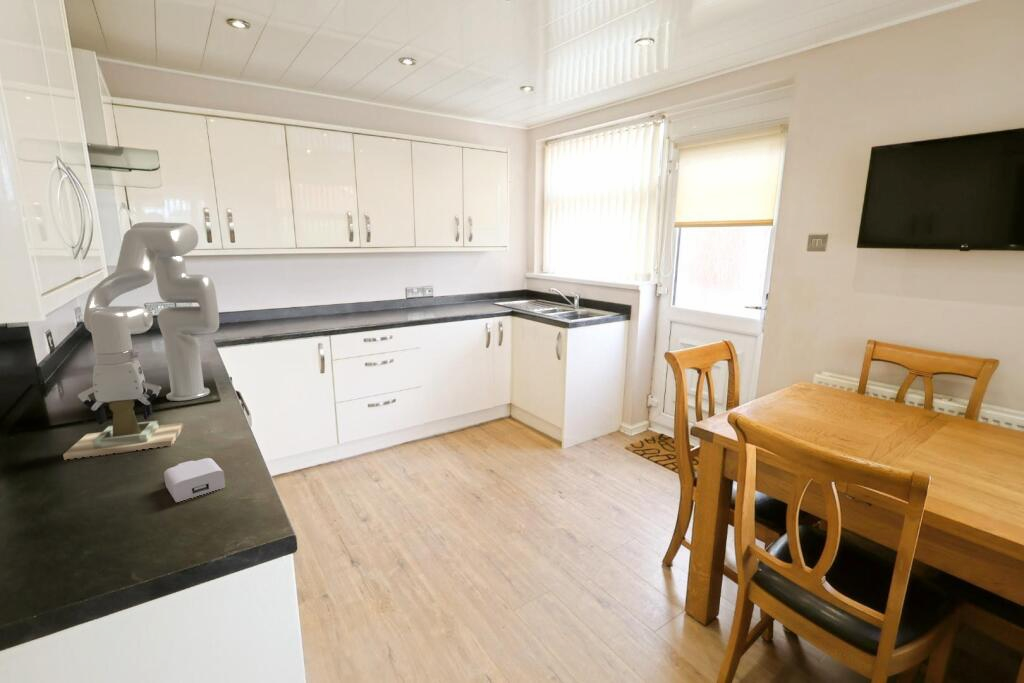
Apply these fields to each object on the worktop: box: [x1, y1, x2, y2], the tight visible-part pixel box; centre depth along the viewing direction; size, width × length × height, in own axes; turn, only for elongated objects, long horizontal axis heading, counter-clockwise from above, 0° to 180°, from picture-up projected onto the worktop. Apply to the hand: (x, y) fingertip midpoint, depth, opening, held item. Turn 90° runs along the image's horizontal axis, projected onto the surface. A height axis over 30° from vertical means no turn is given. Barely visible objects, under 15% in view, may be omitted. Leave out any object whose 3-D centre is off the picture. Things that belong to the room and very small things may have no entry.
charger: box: [163, 457, 226, 503], centre depth 104 cm, size 5×9×15 cm
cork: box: [108, 400, 141, 437], centre depth 124 cm, size 6×6×11 cm
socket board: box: [62, 420, 185, 461], centre depth 125 cm, size 14×22×4 cm, turn 114°
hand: (125, 420), depth 124 cm, fingers open, 9 cm apart
